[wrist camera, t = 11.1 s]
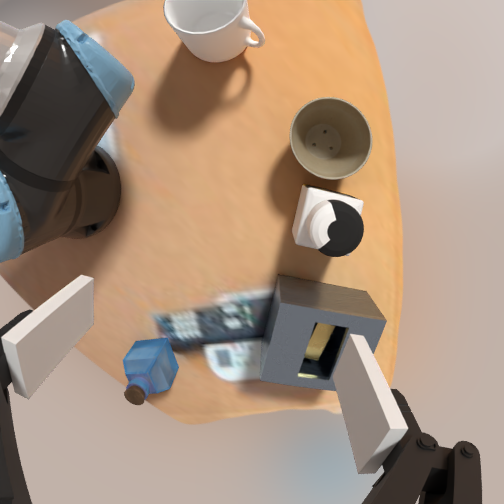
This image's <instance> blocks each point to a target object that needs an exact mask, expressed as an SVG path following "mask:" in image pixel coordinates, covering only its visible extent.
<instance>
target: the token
mask: <svg viewBox="0 0 504 504" xmlns="http://www.w3.org/2000/svg"><path fill="white" fill-rule="evenodd" d="M334 328H335V325H329V324H323V323H317V322H315V325H314V328H313V331H312V334H311V337H310V340H309V343H308V346H307V350H306V353H305V356H304V357H305V358H309V359H313V360H316V361H318V359H319V357H320V355H321V353H322V351H323V350H324V348H325V346H326V344H327V342H328V340H329V338H330V336H331V334H332V332H333V330H334Z"/></svg>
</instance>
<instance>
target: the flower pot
mask: <svg viewBox="0 0 504 504" xmlns="http://www.w3.org/2000/svg"><path fill="white" fill-rule="evenodd" d="M324 131H325V133H324ZM290 144H291V148H292V151H293V154H294V156H295V157H296V159H297V160H298V162H299V163H300V164H301V165H302V166H303V167H304V168H305V169H306V170H307V171H309V172H310V173H312V174H313V175H316V176H318V177H320V178H325V179H332V180H335V179H343V178H346V177H349V176H351V175H353V174H355V173H356V172H357V171H359V170H360V169H361V168H362V167H363V166H364V164H365V163H366V162H367V160H368V158H369V155H370V153H371V149H372V133H371V129H370V126H369V124H368V121H367V119H366V118H365V116H364V115H363V114H362V112H361V111H360V110H359V109H358V108H357V107H355V106H354V105H352V104H351V103H349V102H347V101H345V100H343V99H339V98H334V97H322V98H318V99H315V100H312V101H310V102H308V103H307V104H305V105H304V106H303V107H302V108H301V109H300V110H299V111H298V112H297V114H296V115H295V117H294V119H293V121H292V124H291V128H290ZM313 145H315V146H313ZM331 147H332V148H331Z"/></svg>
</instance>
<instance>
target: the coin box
mask: <svg viewBox="0 0 504 504" xmlns="http://www.w3.org/2000/svg"><path fill="white" fill-rule="evenodd" d="M386 321H387V320H386V319H385V317H384V316H383V315H382V313H381V312H380V310H379V309H378V307H377V306H376V304H375V303H374V301H373V300H372V299H371V297H370V296H369V294H368V293H367V291H362V290H357V289H352V288H347V287H341V286H336V285H331V284H326V283H321V282H315V281H310V280H305V279H300V278H295V277H290V276H285V275H280V274H278V279H277V283H276V287H275V291H274V295H273V299H272V304H271V308H270V312H269V316H268V320H267V324H266V328H265V332H264V336H263V340H262V349H261V369H260V381H266V382H272V383H278V384H284V385H291V386H298V387H306V388H314V389H322V390H331V391H336V387H335V383H334V380H333V374H334V372H335V370H336V367H337V365H338V362H339V360H340V358H341V355H342V353H343V350H344V348H345V345H346V343H347V340H348V338H349V335H350V334H355V335H361V336H364V338H365V339H366V341H367V343H368V345H369V347H370V349H371V351H372V353H373V354H374V351H375V349H376V347H377V344H378V342H379V339H380V337H381V334H382V332H383V329H384V327H385V324H386ZM315 322H317V323H323V324H329V325H335V328H334V330H333V332H332V334H331V336H330V338H329V340H328V342H327V344H326V346H325V348H324V350H323V351H322V353H321V355H320V357H319V359H318V361H316V360H313V359H309V358H305V357H304V356H305V353H306V350H307V346H308V343H309V340H310V337H311V334H312V331H313V328H314V325H315Z"/></svg>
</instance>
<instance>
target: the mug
mask: <svg viewBox="0 0 504 504" xmlns="http://www.w3.org/2000/svg"><path fill="white" fill-rule="evenodd" d="M163 8H164V16H165V18H166V20H167V22H168V23H169V25H170V26H171V27H172V28H173V30H174V31H175V32H176V34H177V35H178V36H179V37H180V39H181V40H182V41H183V43H184V44H185V45H186V47H187V48H188V49H189V50H190V51H191V52H192V53H193V54H194V55H195V56H196V57H198V58H200V59H201V60H204V61H208V62H223V61H228V60H230V59H233V58H235V57H236V56H238V55H239V54H240V53H242V52H243V51H244V49H245V48H246V47H248V46H250V47H254V48H259V47H262V46H263V45H264V44H265V37H264V34H263V32H262V31H261V30H260V28H259V27H258V26H256V25H255V24H254V23H253V22H252V21H251V20H250V17H249V11H248V4H247V0H165V2H164V7H163ZM251 31H253V32H254V33H255V34H256V35H257V36H258V38H259V42H256V41H253V40H252V39H251V38H250V37H251Z"/></svg>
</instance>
